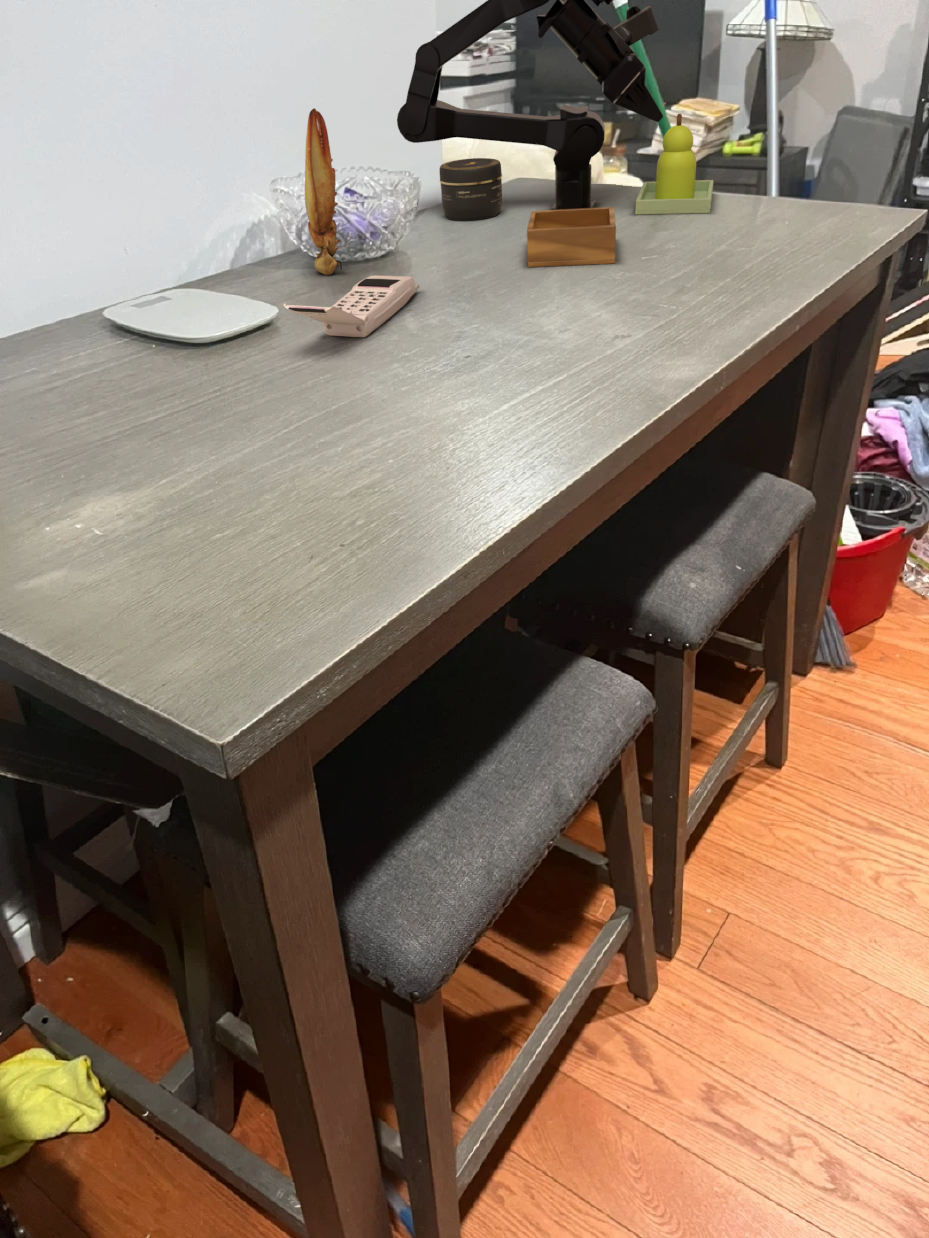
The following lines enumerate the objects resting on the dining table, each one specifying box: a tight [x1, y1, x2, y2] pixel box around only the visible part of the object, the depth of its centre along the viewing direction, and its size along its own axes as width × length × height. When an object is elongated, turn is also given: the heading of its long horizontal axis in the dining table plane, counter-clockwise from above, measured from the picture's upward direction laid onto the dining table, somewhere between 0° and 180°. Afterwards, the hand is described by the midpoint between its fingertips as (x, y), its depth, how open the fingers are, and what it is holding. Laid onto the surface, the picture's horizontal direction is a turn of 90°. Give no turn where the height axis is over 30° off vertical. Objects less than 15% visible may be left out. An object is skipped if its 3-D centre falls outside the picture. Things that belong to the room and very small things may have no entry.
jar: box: [439, 157, 503, 222], centre depth 146 cm, size 10×10×8 cm
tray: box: [634, 179, 715, 215], centre depth 144 cm, size 14×11×2 cm
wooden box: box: [526, 206, 617, 268], centre depth 122 cm, size 11×11×5 cm
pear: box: [655, 113, 697, 199], centre depth 140 cm, size 6×6×12 cm
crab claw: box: [304, 108, 343, 276], centre depth 118 cm, size 7×5×20 cm
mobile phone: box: [283, 275, 420, 338], centre depth 103 cm, size 6×6×25 cm
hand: (658, 115), depth 138 cm, fingers open, 9 cm apart
